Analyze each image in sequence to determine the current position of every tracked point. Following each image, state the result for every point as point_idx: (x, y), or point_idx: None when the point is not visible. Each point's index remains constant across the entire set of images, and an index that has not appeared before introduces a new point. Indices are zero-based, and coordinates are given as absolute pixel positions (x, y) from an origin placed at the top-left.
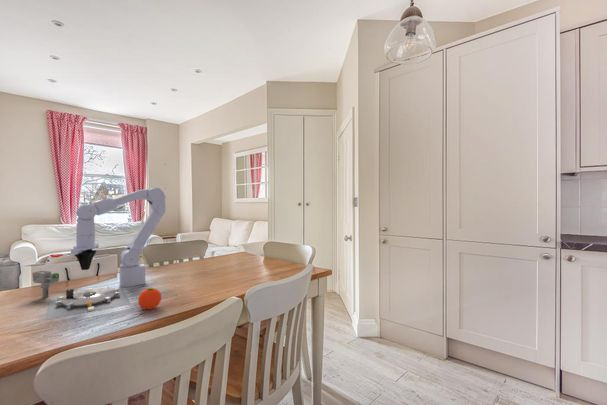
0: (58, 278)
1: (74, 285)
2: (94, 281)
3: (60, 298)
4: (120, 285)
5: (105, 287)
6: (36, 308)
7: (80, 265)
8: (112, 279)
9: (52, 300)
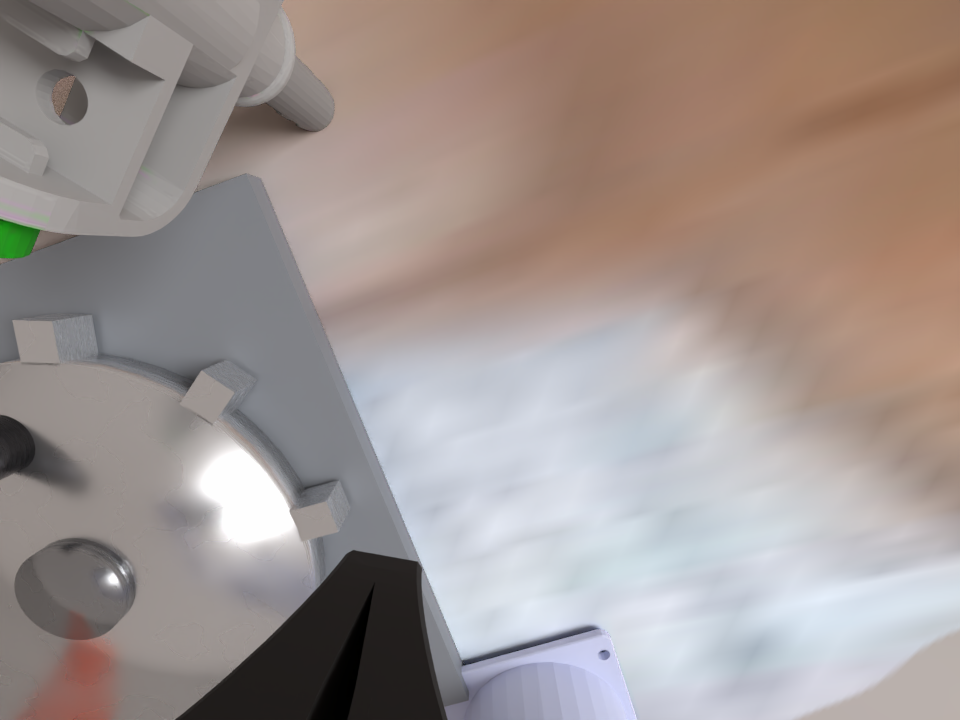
0: (113, 232)
1: (812, 202)
2: (902, 368)
3: (27, 349)
4: (496, 690)
5: None
6: None
7: (299, 611)
8: (899, 525)
9: (143, 236)
